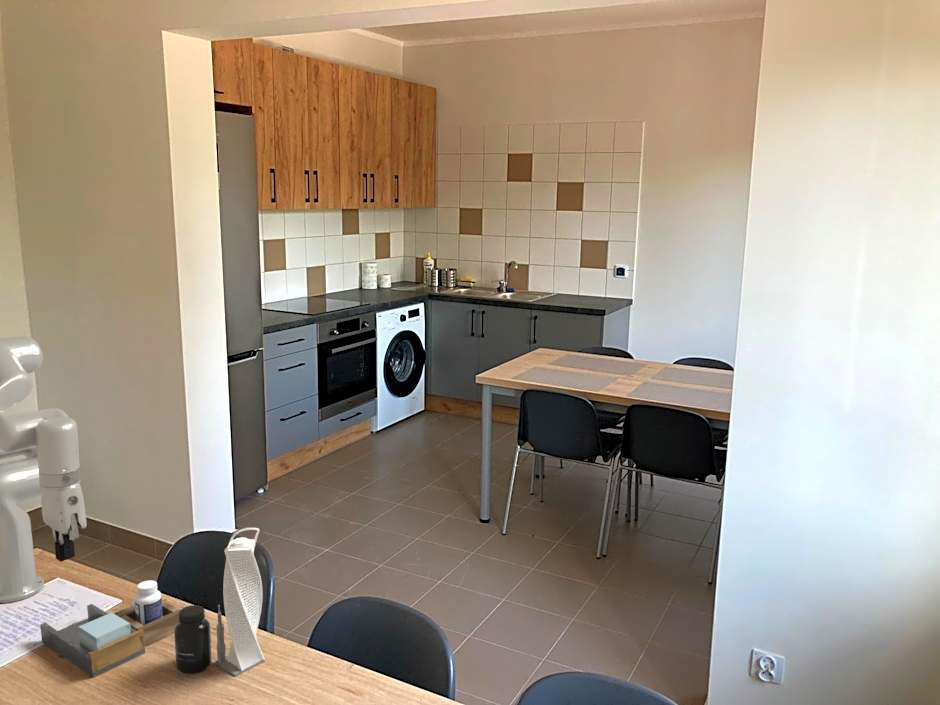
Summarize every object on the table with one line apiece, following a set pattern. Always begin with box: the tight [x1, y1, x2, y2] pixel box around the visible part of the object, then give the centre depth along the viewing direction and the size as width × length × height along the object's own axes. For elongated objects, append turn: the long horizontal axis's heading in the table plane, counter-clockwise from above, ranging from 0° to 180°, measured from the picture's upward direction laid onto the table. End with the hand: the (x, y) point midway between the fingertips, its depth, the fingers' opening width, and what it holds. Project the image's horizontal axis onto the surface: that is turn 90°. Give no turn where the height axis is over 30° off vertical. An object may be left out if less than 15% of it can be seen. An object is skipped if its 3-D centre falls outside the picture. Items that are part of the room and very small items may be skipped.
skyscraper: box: [215, 527, 266, 677], centre depth 154 cm, size 8×8×28 cm
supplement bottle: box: [173, 604, 213, 675], centre depth 154 cm, size 7×7×12 cm
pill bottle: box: [134, 579, 163, 625], centre depth 167 cm, size 5×5×10 cm
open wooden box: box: [113, 599, 181, 648], centre depth 169 cm, size 14×10×4 cm
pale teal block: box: [78, 612, 131, 652], centre depth 157 cm, size 7×7×6 cm
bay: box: [39, 603, 146, 678], centre depth 161 cm, size 21×11×5 cm, turn 53°
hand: (65, 558), depth 163 cm, fingers closed
